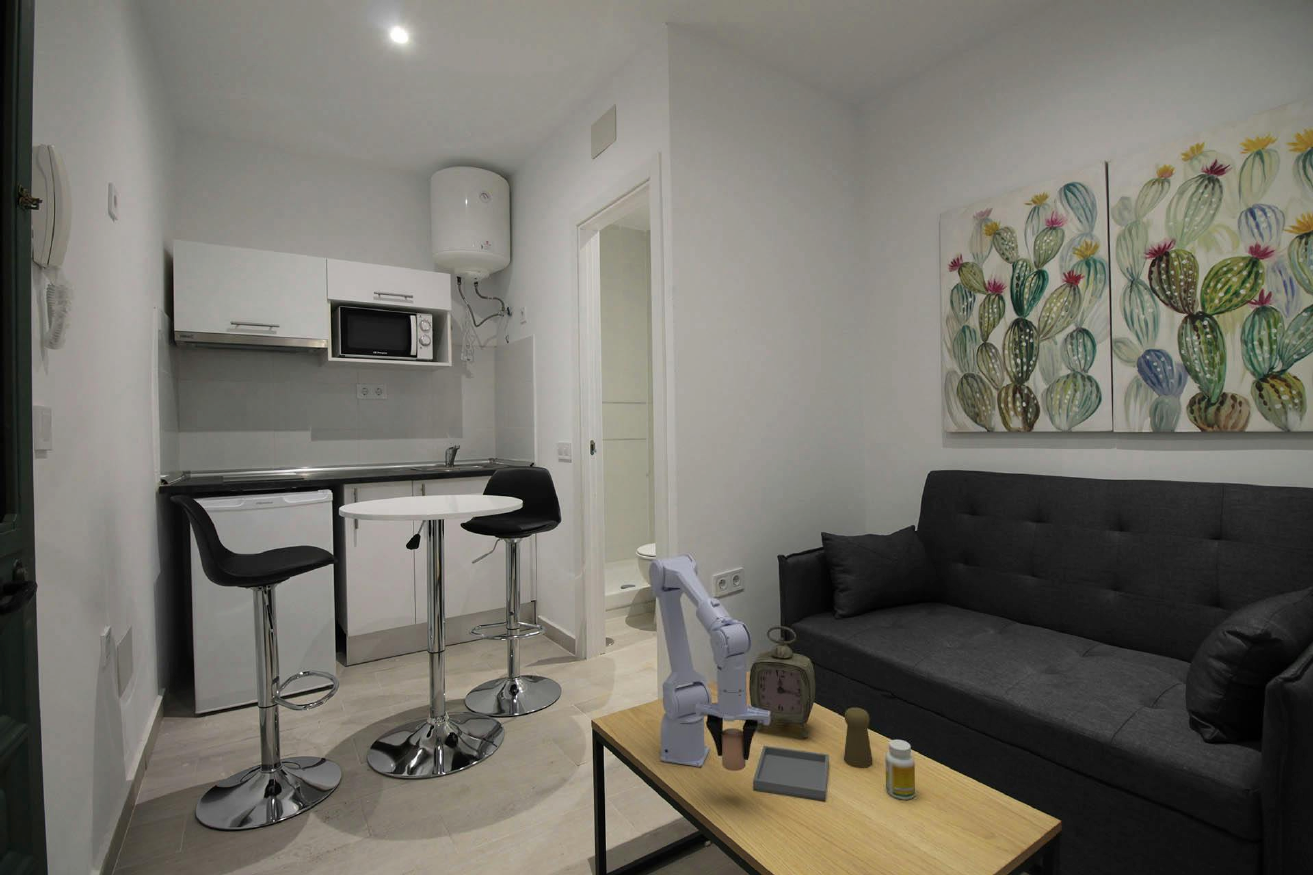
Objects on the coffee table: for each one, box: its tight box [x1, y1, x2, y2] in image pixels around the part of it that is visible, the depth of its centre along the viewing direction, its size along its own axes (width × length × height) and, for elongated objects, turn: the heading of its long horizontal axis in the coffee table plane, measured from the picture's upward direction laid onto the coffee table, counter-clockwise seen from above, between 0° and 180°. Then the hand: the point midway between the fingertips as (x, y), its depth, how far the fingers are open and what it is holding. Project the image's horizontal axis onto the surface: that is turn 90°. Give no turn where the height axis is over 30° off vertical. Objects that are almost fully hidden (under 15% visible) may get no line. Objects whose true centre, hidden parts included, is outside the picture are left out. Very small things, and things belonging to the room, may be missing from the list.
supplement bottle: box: [884, 739, 916, 801], centre depth 120 cm, size 5×5×10 cm
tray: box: [752, 745, 830, 802], centre depth 127 cm, size 14×14×2 cm
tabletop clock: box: [748, 625, 816, 739], centre depth 147 cm, size 14×9×25 cm, turn 67°
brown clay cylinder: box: [721, 727, 747, 772], centre depth 120 cm, size 5×5×6 cm
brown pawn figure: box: [843, 707, 874, 769], centre depth 132 cm, size 6×6×11 cm
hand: (733, 755), depth 120 cm, fingers closed on brown clay cylinder, 5 cm apart
